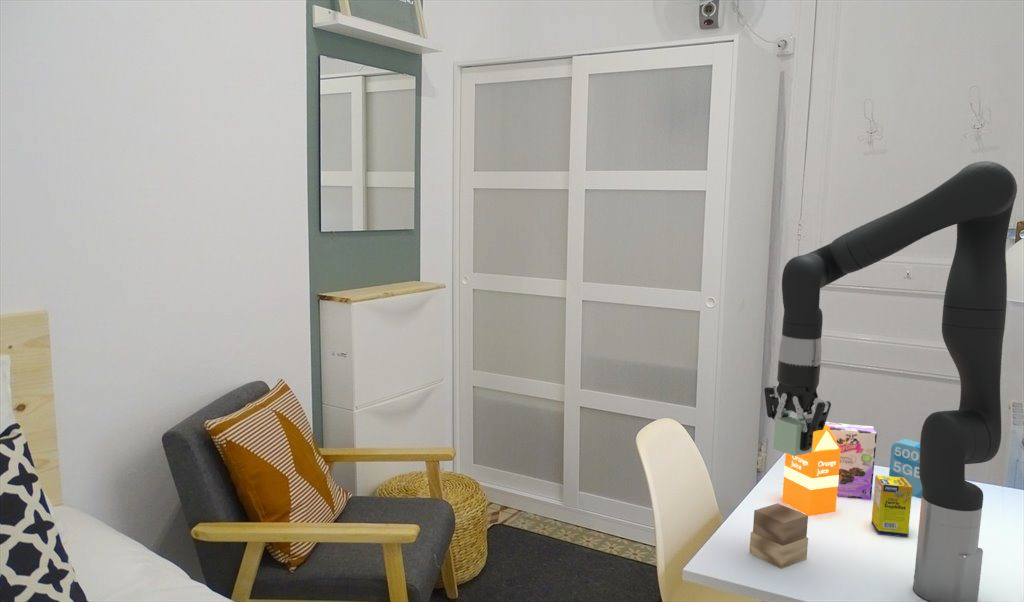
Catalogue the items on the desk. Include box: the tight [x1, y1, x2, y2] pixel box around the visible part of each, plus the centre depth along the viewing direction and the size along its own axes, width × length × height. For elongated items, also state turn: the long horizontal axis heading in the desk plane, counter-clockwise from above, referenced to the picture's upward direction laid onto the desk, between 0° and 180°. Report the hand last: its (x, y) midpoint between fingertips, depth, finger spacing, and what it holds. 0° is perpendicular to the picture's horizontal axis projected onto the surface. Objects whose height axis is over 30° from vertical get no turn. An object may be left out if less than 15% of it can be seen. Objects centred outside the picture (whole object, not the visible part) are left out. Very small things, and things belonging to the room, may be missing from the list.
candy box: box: [825, 421, 878, 501], centre depth 186 cm, size 14×6×16 cm, turn 73°
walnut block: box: [752, 503, 809, 546], centre depth 152 cm, size 7×7×4 cm
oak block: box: [748, 531, 809, 569], centre depth 152 cm, size 8×8×4 cm
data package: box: [888, 438, 922, 499], centre depth 187 cm, size 12×4×12 cm, turn 40°
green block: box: [772, 415, 814, 456], centre depth 151 cm, size 5×5×6 cm
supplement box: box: [871, 474, 913, 538], centre depth 165 cm, size 6×6×11 cm
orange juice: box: [781, 425, 841, 517], centre depth 177 cm, size 8×9×20 cm
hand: (792, 445), depth 152 cm, fingers closed on green block, 5 cm apart
